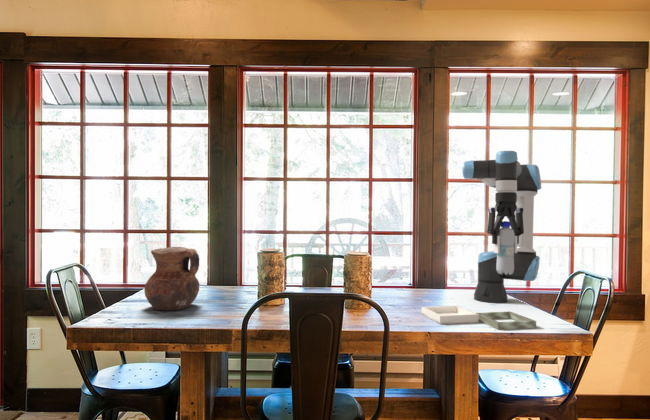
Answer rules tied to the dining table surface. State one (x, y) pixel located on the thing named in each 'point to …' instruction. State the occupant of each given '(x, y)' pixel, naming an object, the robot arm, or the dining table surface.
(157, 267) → the jug
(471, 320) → the cream dish
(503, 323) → the rim
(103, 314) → the dining table surface
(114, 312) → the dining table surface
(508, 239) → the bottle
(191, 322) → the dining table surface
